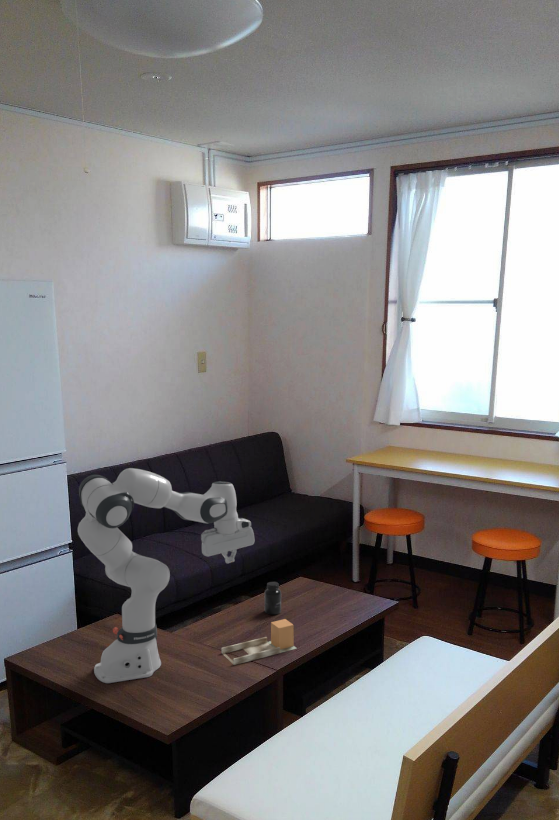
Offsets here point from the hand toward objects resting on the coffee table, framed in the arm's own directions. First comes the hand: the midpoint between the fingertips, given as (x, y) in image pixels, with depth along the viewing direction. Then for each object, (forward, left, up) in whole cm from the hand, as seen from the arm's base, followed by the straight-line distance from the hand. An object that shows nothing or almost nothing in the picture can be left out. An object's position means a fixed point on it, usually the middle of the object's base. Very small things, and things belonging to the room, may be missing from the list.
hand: (230, 562), depth 255 cm
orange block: (+14, -12, -30) cm, 35 cm away
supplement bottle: (+28, +19, -31) cm, 46 cm away
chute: (+5, -13, -31) cm, 34 cm away
